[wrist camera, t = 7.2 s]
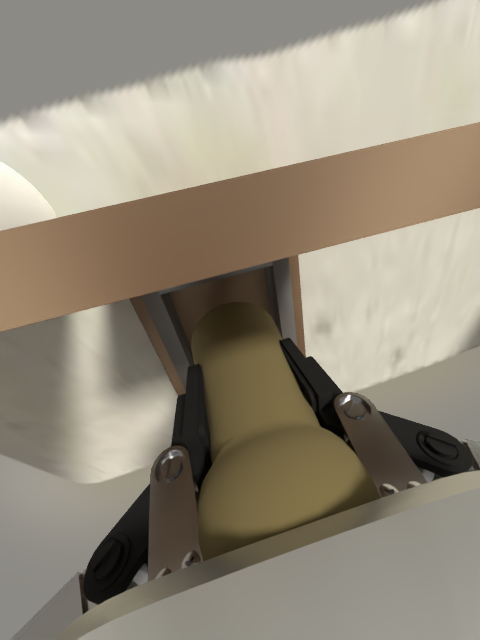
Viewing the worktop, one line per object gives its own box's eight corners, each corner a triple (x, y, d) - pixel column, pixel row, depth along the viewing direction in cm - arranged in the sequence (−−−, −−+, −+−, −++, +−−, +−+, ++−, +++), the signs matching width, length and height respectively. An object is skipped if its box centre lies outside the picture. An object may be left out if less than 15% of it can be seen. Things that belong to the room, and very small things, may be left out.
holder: (288, 196, 16) (642, 85, 3) (301, 357, 23) (424, 517, 10) (106, 239, 15) (-429, 328, 2) (181, 393, 22) (157, 614, 9)
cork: (275, 371, 16) (402, 620, 6) (196, 382, 15) (189, 700, 5) (281, 298, 13) (530, 524, 3) (184, 305, 12) (121, 660, 2)
